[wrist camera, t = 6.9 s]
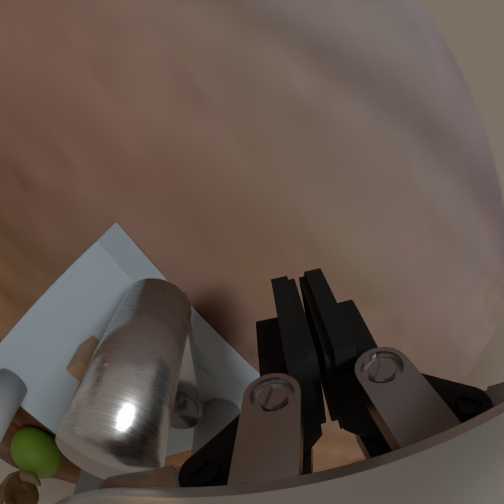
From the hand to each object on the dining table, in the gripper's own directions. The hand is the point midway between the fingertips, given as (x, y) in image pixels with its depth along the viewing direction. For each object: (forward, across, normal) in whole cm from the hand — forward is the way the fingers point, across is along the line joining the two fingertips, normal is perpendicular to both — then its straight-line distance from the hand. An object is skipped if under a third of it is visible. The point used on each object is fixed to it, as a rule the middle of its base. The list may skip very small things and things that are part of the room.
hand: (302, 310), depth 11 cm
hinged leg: (+3, +6, +2) cm, 7 cm away
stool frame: (+6, +13, +6) cm, 15 cm away
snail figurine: (+6, +27, +14) cm, 31 cm away
